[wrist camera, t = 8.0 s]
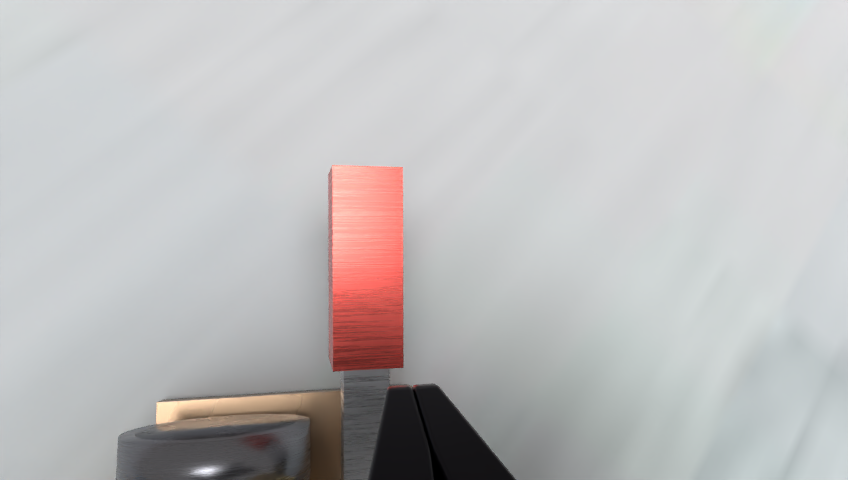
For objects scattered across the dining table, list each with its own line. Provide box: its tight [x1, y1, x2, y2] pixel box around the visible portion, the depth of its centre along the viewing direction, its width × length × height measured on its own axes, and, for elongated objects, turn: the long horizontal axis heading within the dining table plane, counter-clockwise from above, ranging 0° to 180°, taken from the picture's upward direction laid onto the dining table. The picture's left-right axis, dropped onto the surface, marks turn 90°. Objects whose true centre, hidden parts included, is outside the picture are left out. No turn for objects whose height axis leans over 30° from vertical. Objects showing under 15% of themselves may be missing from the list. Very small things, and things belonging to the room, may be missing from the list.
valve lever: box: [328, 165, 403, 480], centre depth 15 cm, size 2×2×12 cm
